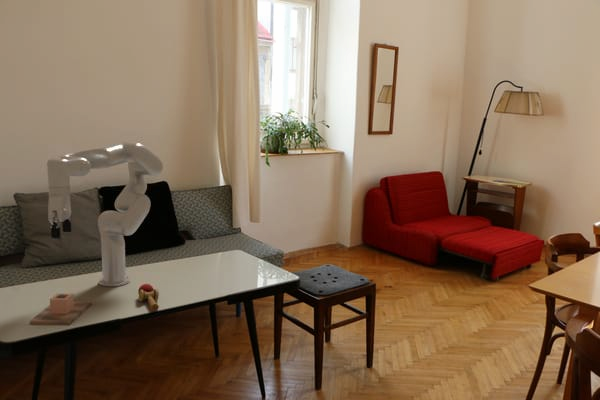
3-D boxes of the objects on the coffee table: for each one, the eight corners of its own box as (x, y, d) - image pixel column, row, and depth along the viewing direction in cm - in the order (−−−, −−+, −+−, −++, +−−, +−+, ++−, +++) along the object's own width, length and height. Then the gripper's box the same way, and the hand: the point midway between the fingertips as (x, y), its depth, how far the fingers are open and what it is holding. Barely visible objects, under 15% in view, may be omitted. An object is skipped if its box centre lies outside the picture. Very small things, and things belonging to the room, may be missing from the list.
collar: (57, 307, 198) (57, 293, 197) (74, 307, 198) (73, 293, 197) (50, 313, 192) (49, 299, 191) (67, 313, 192) (66, 299, 191)
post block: (55, 303, 205) (54, 285, 204) (91, 303, 205) (91, 286, 204) (30, 323, 185) (28, 304, 184) (70, 324, 186) (69, 305, 184)
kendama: (167, 312, 203) (155, 291, 218) (164, 298, 200) (152, 278, 215) (146, 318, 199) (136, 297, 214) (143, 304, 197) (133, 283, 212)
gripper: (59, 187, 210) (61, 229, 213) (38, 194, 193) (41, 240, 196) (78, 187, 210) (80, 229, 213) (59, 194, 193) (61, 240, 196)
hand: (61, 234), depth 205 cm, fingers open, 9 cm apart
